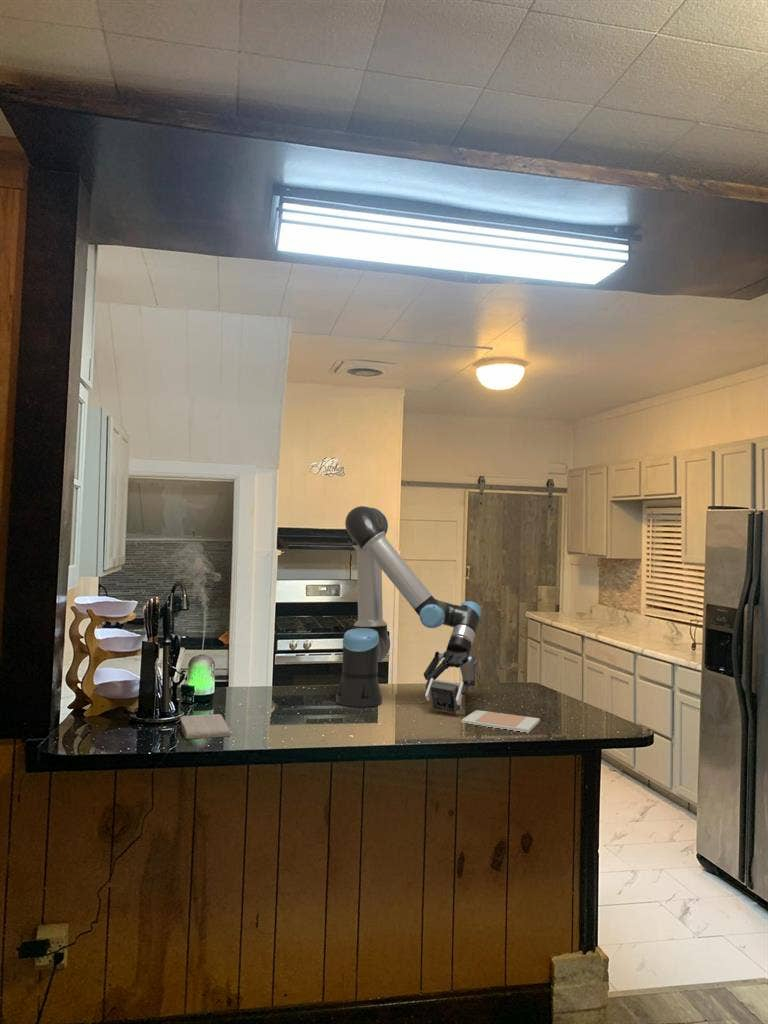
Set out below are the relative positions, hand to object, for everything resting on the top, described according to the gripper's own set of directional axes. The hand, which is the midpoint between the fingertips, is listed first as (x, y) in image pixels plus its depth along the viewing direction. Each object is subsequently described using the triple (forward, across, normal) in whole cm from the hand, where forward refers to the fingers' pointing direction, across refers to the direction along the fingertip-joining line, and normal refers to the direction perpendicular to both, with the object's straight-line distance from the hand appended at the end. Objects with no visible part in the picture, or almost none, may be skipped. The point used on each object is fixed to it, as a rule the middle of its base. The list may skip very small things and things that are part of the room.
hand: (442, 700), depth 220 cm
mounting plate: (+2, -18, -5) cm, 19 cm away
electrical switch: (+1, 0, -5) cm, 5 cm away
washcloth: (+40, +51, +31) cm, 71 cm away
